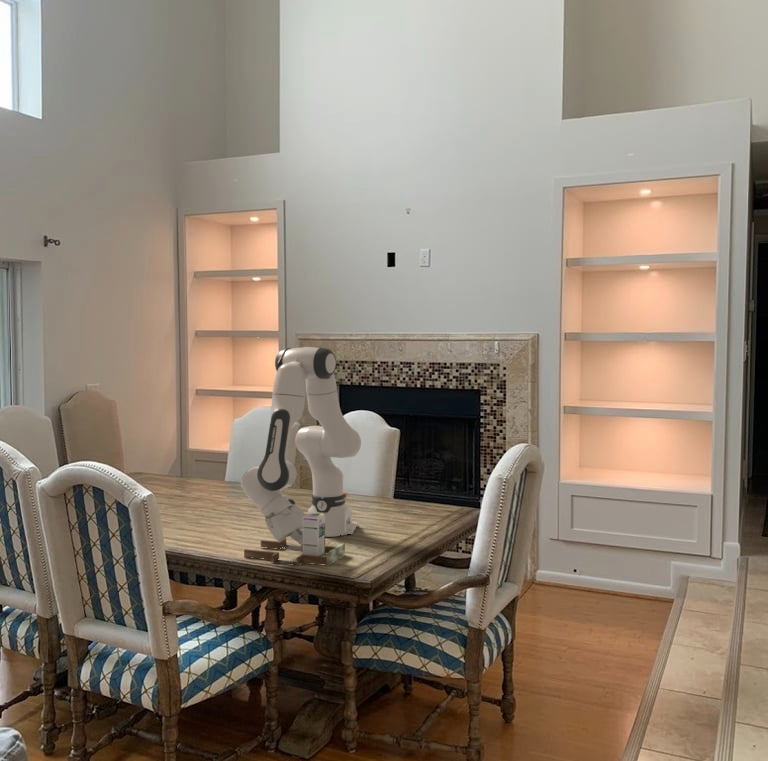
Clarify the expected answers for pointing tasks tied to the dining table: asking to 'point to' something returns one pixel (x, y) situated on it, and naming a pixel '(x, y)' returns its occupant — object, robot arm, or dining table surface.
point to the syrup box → (314, 534)
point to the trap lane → (331, 551)
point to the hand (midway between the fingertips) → (304, 542)
